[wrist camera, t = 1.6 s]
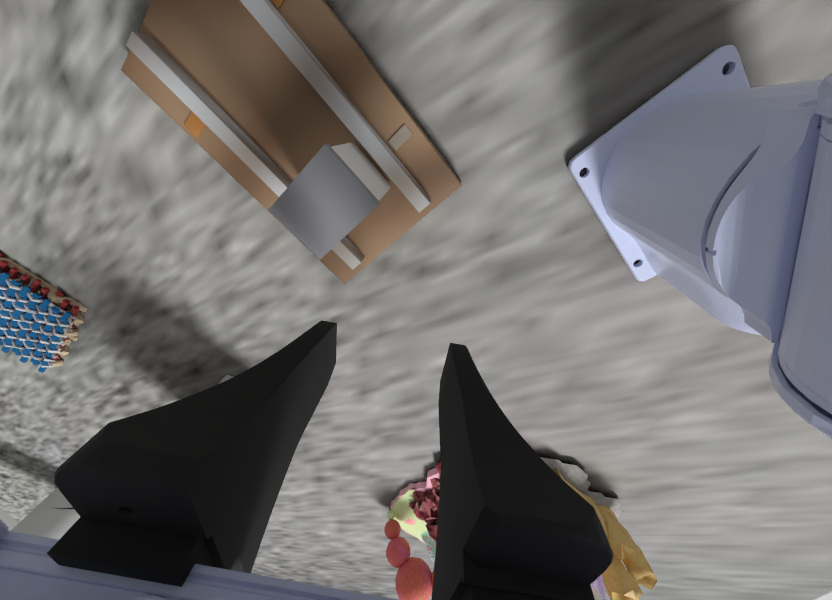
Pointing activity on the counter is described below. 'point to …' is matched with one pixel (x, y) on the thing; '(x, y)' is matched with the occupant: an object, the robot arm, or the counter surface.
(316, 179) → the fader knob
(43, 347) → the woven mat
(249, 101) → the fader board
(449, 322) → the counter surface
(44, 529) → the travel mug
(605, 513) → the candy landscape model
